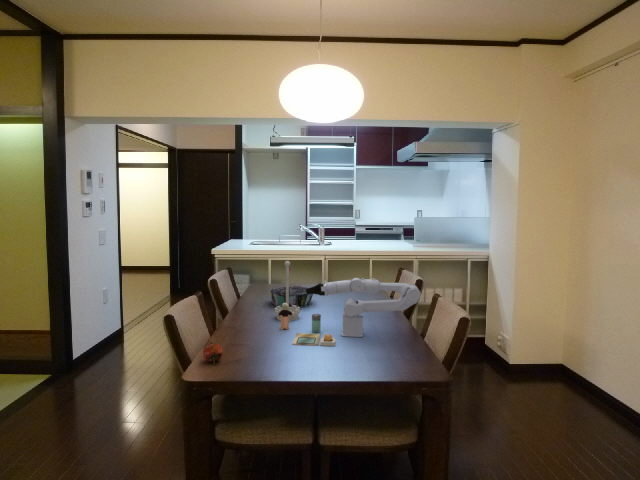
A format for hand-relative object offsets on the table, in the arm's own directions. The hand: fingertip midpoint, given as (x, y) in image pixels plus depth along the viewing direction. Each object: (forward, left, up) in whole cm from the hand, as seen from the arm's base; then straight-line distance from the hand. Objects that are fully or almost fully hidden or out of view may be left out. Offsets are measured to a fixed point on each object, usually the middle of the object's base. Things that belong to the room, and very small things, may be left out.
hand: (307, 291), depth 198 cm
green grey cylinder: (-4, -2, -19) cm, 20 cm away
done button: (-10, +14, -18) cm, 25 cm away
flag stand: (+13, -24, -20) cm, 33 cm away
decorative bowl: (+15, -54, -20) cm, 59 cm away
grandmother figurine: (+11, -5, -20) cm, 23 cm away
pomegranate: (+32, +39, -20) cm, 54 cm away
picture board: (-1, +10, -19) cm, 22 cm away
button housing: (-10, +14, -19) cm, 26 cm away
